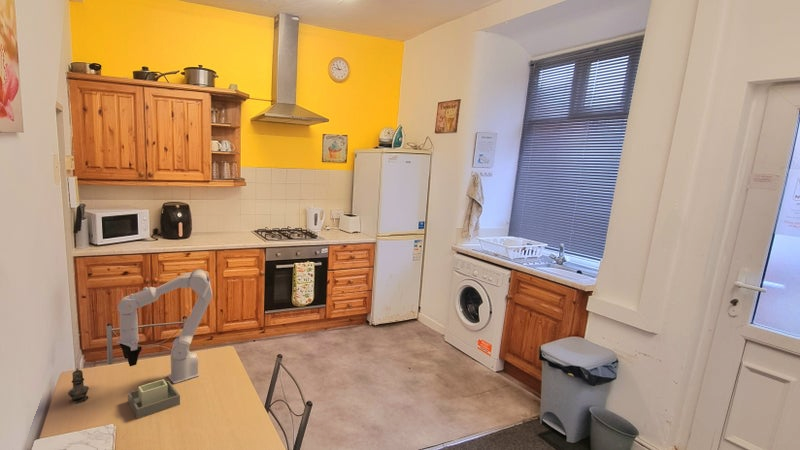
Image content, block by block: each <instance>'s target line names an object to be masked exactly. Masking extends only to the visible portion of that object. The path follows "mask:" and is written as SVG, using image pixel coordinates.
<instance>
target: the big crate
mask: <svg viewBox="0 0 800 450" xmlns="http://www.w3.org/2000/svg"><path fill="white" fill-rule="evenodd" d="M165 382H166V383H167V385H168V398H167V399H164V400H161V401H158V402H155V403H152V404H149V405H146V406H143V407H141V405H140V403H139V393H138V389H136V390H132V391H129V392H127V403H128V404H129V406H130V408H131V410H132V412H133V413H134V416H135V417H136V419H137V420H138V419H142V418H145V417H147V416H150V415H153V414H155V413H159V412H162V411H164V410H167V409H170V408H174V407H176V406H180V405H181V397H180V396H181V395H180V393H179V392H178V391H177V389H176V388H175V387H174V385H173V383H171V381H169V380H165Z"/></svg>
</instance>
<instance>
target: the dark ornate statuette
mask: <svg viewBox="0 0 800 450" xmlns="http://www.w3.org/2000/svg"><path fill="white" fill-rule="evenodd" d="M84 381H85V378H84V375H83V370H80V369H79V368H78V367H77V368H76V369H75V370H74V371H73V372H72V380H71V383H72V388H71V389H70V390H69V391H68V392H67V394H68V396H69V397H70V398H71V399H70V400H69V403H70V404H71V403H72V405H77V404H81V403H83V402H86V401H87V400H88V399H89V395H87V394H88V392H89V389H90V388H89V386H88V385H84V384H85V383H84Z"/></svg>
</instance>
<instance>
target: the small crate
mask: <svg viewBox="0 0 800 450" xmlns="http://www.w3.org/2000/svg"><path fill="white" fill-rule="evenodd" d="M165 381H166V380H165V379H164V378H162V379H160V380H156V381H153V382H150V383H146V384H143V385H139V386H138V387H137V388H138V389H137V390H138V393H139V403H140V405H141V407H143V406H146V405H149V404H152V403H155V402H158V401H161V400H164V399H167V398H168V385H167V383H166V382H165Z"/></svg>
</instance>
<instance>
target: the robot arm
mask: <svg viewBox="0 0 800 450" xmlns="http://www.w3.org/2000/svg"><path fill="white" fill-rule="evenodd" d="M181 288H182V289H183V288H184V289H185V290H186V289H187V290H188V289H191V290H192V291H194V292H195V293H196V295H197V300H196V302H195V304H194V306H193V307H192V309H191V312H190V314H189V315H188V318H187V320H186V322H185V324H184V326H183V328H182V330H181V332H180V333H179V335H178V336H177V337H175V338H174V340H173V341H172V347H171V350H170V373H169V374H168V375H167V377H168V378H169V379H170V382H172V384H178V383H181V382H183V381H186V380H187V381H188V380H191V379H194V378H196V377H199V376H200V374H199V358H198V355H197V353H196V351H195V352H191V351H190V346H191V343H192V341H193V338H194V336H195V333H196V331H197V329H198V327H199V325H200V324H201V321H202V319H203V317H204V314H205V312H206V311H207V309H208V307H209V305H210V303H211V300H212V298H213V290H212V286H211V280H210V277H209V274H208V273H207V272H206V271H205V270H203V269H199V268H198V269H195V270H193V271H190V272H186V273H184V274H182V275H180V276H178V277H175V278H174V279H171V280H169V281H168V282H166V283H163V284H161V285H159V286H156V287H153V286H149V287H148V286H145V287H143V288H142V290H140V291H138V292H135V293H130V294H129V295H126V296H124V297H122V298H121V300H120V301H119V303H117V311H118V312H119V318H118V319H119V333H120V334H119V339H118V340H116V344H118V345H119V346H120V348H121V351H122V354H123V357H124V359H125V360H126V359H127V362H128V365H129V367H133V366H137V363H138V360H139V356H140V354H141V352H142V350H143V347H142V346H141V345H140V346H138V343H139V341H140V337H139V321H138V320H139V317H138V310H137V309H140V308H142V307H144V306H148V305H150V304H152V303H154V302H156V301H158V300H159V297H160V296H162V295H164V294H167V293H169V292H172V291H174V290H177V289H181Z"/></svg>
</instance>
